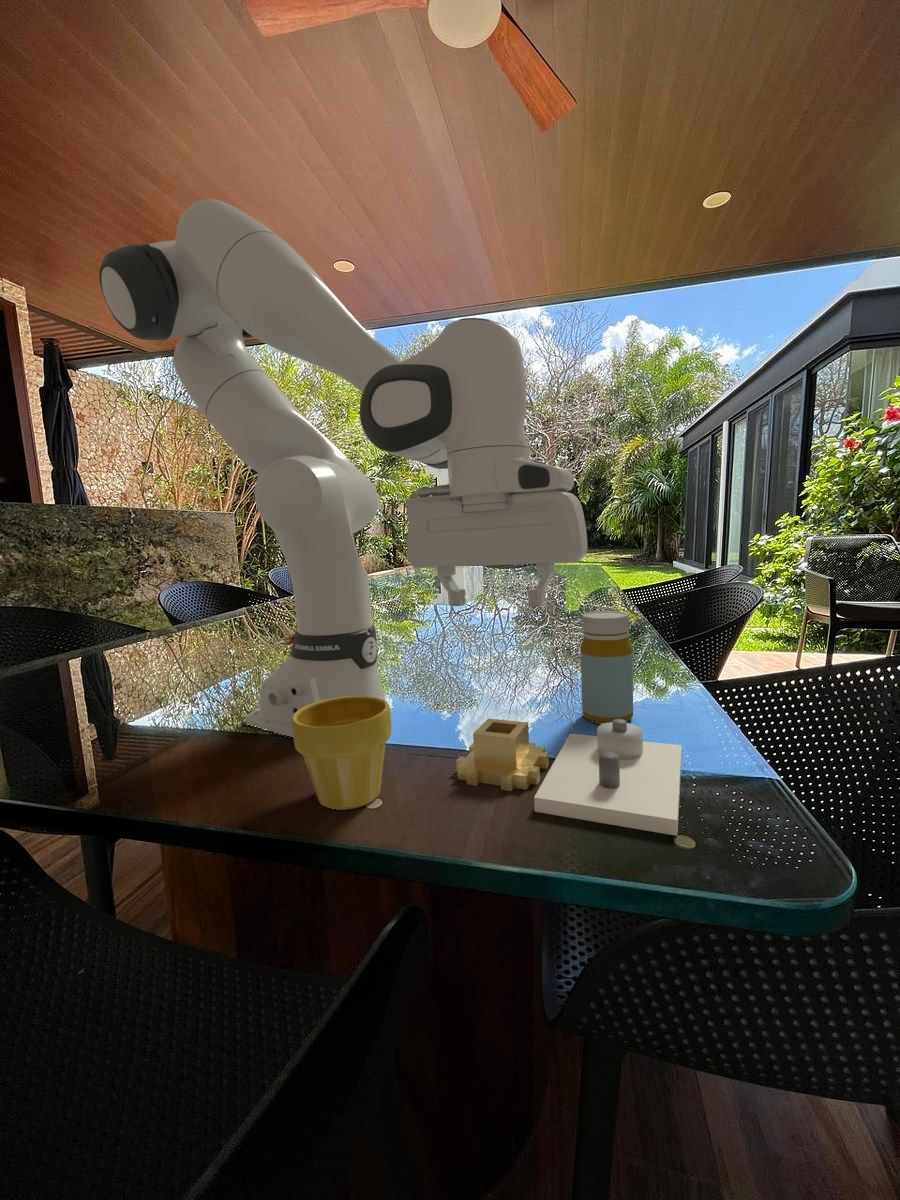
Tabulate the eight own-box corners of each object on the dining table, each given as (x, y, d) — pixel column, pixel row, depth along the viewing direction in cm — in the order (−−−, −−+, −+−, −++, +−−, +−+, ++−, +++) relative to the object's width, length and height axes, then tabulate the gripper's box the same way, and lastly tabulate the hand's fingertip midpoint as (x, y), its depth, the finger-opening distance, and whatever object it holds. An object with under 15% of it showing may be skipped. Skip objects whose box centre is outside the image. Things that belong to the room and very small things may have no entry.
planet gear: (448, 781, 60) (446, 739, 60) (479, 747, 69) (477, 710, 68) (531, 794, 56) (529, 749, 56) (553, 757, 65) (552, 717, 64)
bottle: (636, 727, 73) (635, 618, 71) (583, 726, 74) (580, 619, 72) (629, 709, 80) (628, 609, 78) (581, 708, 81) (578, 611, 79)
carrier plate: (534, 811, 53) (532, 763, 52) (570, 744, 68) (569, 706, 68) (677, 835, 48) (677, 782, 47) (681, 757, 63) (681, 716, 62)
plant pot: (302, 781, 62) (294, 700, 61) (390, 768, 65) (384, 689, 63) (297, 828, 52) (287, 733, 51) (402, 810, 55) (395, 718, 53)
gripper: (391, 487, 60) (401, 609, 62) (576, 468, 51) (581, 610, 53) (418, 489, 65) (426, 601, 67) (588, 472, 57) (592, 601, 59)
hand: (496, 605), depth 60 cm, fingers open, 8 cm apart
